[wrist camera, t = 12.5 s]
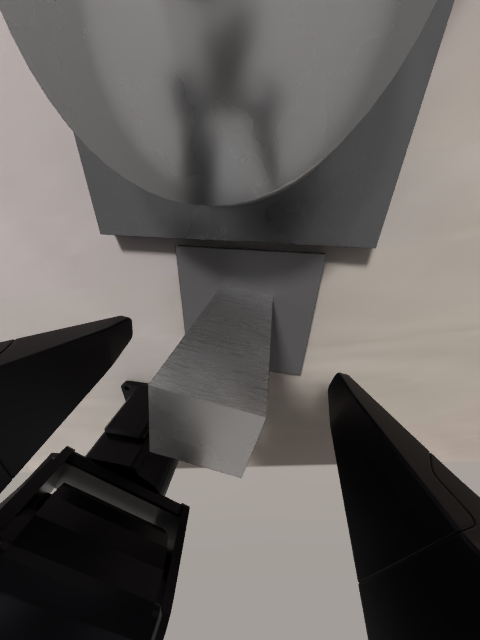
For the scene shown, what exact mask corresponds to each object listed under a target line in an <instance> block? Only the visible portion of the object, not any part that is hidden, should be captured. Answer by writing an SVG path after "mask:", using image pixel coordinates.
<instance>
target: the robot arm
mask: <svg viewBox="0 0 480 640" xmlns="http://www.w3.org/2000/svg"><path fill="white" fill-rule="evenodd" d="M132 335H133V331H132V320H131V319H130V318H129V317H125V316H117V317H113V318H108V319H104V320H99V321H95V322H90V323H86V324H81V325H77V326H72V327H68V328H63V329H59V330H54V331H50V332H45V333H41V334H36V335H32V336H27V337H23V338H18V339H16V340H9V341H4V342H0V493H1V492H2V491H3V490H4V489H5V487H6V486H7V485H8V484H9V483H10V482H11V481H12V478H14V477H15V476H16V475H17V474H18V472H19V471H20V470H21V469H22V468H23V467H24V466H25V464H26V463H27V462H28V461H29V460H30V459H31V458H32V457H33V455H34V454H35V453H36V452H37V451H38V450H39V449H40V447H41V446H42V445H43V444H44V443H45V442H46V441H47V439H48V438H49V437H50V436H51V435H52V434H53V433H54V432H55V430H56V429H57V428H58V427H59V426H60V425H61V424H62V422H63V421H64V420H65V419H66V418H67V417H68V416H69V414H70V413H71V412H72V411H73V410H74V409H75V408H76V406H77V405H78V404H79V403H80V402H81V401H82V400H83V399H84V397H85V396H86V395H87V394H88V393H89V392H90V391H91V389H92V388H93V387H94V386H95V385H96V384H97V383H98V381H99V380H100V379H101V378H102V377H103V376H104V375H105V374H106V372H107V371H108V370H109V369H110V368H111V366H112V365H113V364H114V362H115V361H116V360H117V358H118V357H119V355H120V354H121V353H122V351H123V350H124V348H125V347H126V346H127V344H128V343H129V341H130V340H131V338H132ZM148 385H149V384H148V383H141V382H134V381H125V382H124V383H123V384H122V386H121V388H122V391H123V394H124V397H125V400H126V402H125V403H124V405H123V406H122V407H121V408H120V410H119V411H118V412H117V413H116V415H115V416H114V417H113V419H112V420H111V421H110V422H109V424H108V425H107V426H106V427H105V432H104V433H103V434H102V436H101V437H100V438H99V439H98V441H97V442H96V443H95V445H94V446H93V447H92V448H91V450H90V451H89V452H88V454H87V455H86V456H85V457H84V456H82V455H80V454H78V453H76V452H75V449H73V448H71V447H69V446H66V447H65V448H64V449H63V450H62V451H61V452H60V453H51V454H50V455H49V456H48V457H47V459H46V460H45V461H44V462H43V463H42V464H41V465H40V466H39V467H38V468H37V469H36V470H35V471H34V472H33V474H32V475H31V476H30V477H29V478H28V479H27V480H26V481H25V482H24V483H23V484H22V485H21V486H20V487H18V488H17V489H16V490H15V491H14V492H13V493H12V494H11V495H9V497H7V498H6V499H5V500H4V501H3V502H2V503H0V640H163V638H164V635H165V632H166V629H167V625H168V621H169V617H170V614H171V609H172V604H173V599H174V593H175V588H176V582H177V577H178V571H179V565H180V559H181V554H182V548H183V543H184V537H185V531H186V525H187V520H188V514H189V509H190V508H189V506H187V505H185V504H183V503H182V504H179V503H177V502H175V501H173V500H171V499H169V498H167V497H165V494H166V492H167V489H168V487H169V484H170V481H171V479H172V476H173V474H174V471H175V469H176V466H177V464H178V461H179V460H177V459H174V458H170V457H167V456H163V455H160V454H156V453H153V452H150V442H149V395H148ZM328 401H329V416H330V427H331V434H332V439H333V445H334V450H335V456H336V461H337V467H338V473H339V478H340V484H341V489H342V495H343V500H344V506H345V511H346V517H347V523H348V528H349V534H350V539H351V545H352V551H353V556H354V562H355V567H356V573H357V579H358V582H359V591H360V596H361V601H362V607H363V613H364V618H365V624H366V630H367V635H368V640H480V497H479V496H478V495H476V494H475V493H474V492H473V491H472V490H471V489H469V487H467V486H466V485H465V484H464V483H463V482H462V481H460V480H459V478H457V477H456V476H455V475H454V474H453V473H452V472H451V471H450V470H449V469H448V468H446V467H445V466H444V465H443V464H442V463H441V462H440V461H439V460H438V459H437V458H436V457H435V456H434V455H433V454H431V453H429V451H428V450H427V449H426V448H425V447H424V446H423V445H422V444H421V443H420V442H419V441H418V440H417V439H416V438H415V437H414V436H412V435H411V434H410V433H409V432H408V431H407V430H406V429H405V428H404V427H403V426H402V425H401V424H400V423H399V422H398V421H397V420H395V419H394V418H393V417H392V416H391V415H390V414H389V413H388V412H387V411H386V410H385V409H384V408H383V407H382V406H381V405H379V404H378V403H377V402H376V401H375V400H374V399H373V398H372V397H371V396H370V395H369V394H368V393H367V392H366V391H365V390H364V389H363V388H361V387H360V386H359V385H358V384H357V383H356V382H355V381H354V380H353V379H352V378H351V377H350V376H349V375H347V374H343V373H337V374H336V375H335V376H334V378H333V380H332V382H331V383H330V385H329V388H328ZM54 488H57V490H56V491H55V492H54V493H53V494H50V493H51V491H52V490H53V489H54Z"/></svg>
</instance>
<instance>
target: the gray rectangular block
mask: <svg viewBox="0 0 480 640" xmlns="http://www.w3.org/2000/svg"><path fill="white" fill-rule="evenodd" d="M272 302H273V297H272V296H268V295H264V294H260V293H256V292H252V291H248V290H244V289H240V288H236V287H232V286H228V285H224V284H222V285H221V287H220V288H219V290H218V291H217V292H216V294H215V295H214V296H213V298H212V299H211V300H210V302H209V303H208V305H207V306H206V307H205V309H204V310H203V311H202V313H201V314H200V315H199V317H198V318H197V319H196V321H195V322H194V324H193V325H192V326H191V328H190V329H189V330H188V332H187V333H186V334H185V336H184V337H183V339H182V340H181V341H180V343H179V344H178V345H177V347H176V348H175V349H174V351H173V352H172V354H171V355H170V356H169V358H168V359H167V360H166V362H165V363H164V364H163V366H162V367H161V369H160V370H159V371H158V373H157V374H156V375H155V377H154V378H153V379H152V381H151V382H150V383H149V385H148V395H149V442H150V452H153V453H156V454H160V455H163V456H167V457H170V458H174V459H177V460H181V461H184V462H187V463H191V464H194V465H198V466H201V467H205V468H208V469H212V470H215V471H219V472H222V473H226V474H229V475H233V476H236V477H239V478H241V477H242V475H243V473H244V470H245V468H246V466H247V463H248V461H249V458H250V456H251V454H252V451H253V449H254V446H255V444H256V441H257V439H258V437H259V434H260V432H261V429H262V427H263V424H264V422H265V420H266V414H267V396H268V377H269V358H270V339H271V321H272Z"/></svg>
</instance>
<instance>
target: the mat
mask: <svg viewBox="0 0 480 640" xmlns="http://www.w3.org/2000/svg"><path fill="white" fill-rule="evenodd" d="M175 247H176V256H177V265H178V274H179V282H180V291H181V300H182V309H183V318H184V327H185V334H186V333H187V332H188V330H189V329H190V328H191V326H192V325H193V324H194V322H195V321H196V319H197V318H198V317H199V315H200V314H201V313H202V311H203V310H204V309H205V307H206V306H207V305H208V303H209V302H210V300H211V299H212V298H213V296H214V295H215V294H216V292H217V291H218V290H219V288H220V287H221V285H222V284H224V285H228V286H232V287H236V288H240V289H244V290H248V291H252V292H256V293H260V294H264V295H268V296H272V297H273V302H272V321H271V339H270V358H269V371H272V372H279V373H287V374H295V375H300V374H301V369H302V365H303V360H304V355H305V351H306V346H307V341H308V337H309V332H310V327H311V323H312V318H313V313H314V309H315V304H316V299H317V294H318V290H319V285H320V280H321V276H322V271H323V266H324V262H325V257H326V254H325V253H315V252H297V251H278V250H260V249H242V248H224V247H206V246H187V245H178V246H175Z"/></svg>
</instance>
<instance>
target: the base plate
mask: <svg viewBox="0 0 480 640" xmlns="http://www.w3.org/2000/svg"><path fill="white" fill-rule="evenodd" d="M453 3H454V0H437V1H436V3H435V5H434V7H433V9H432V11H431V13H430V15H429V17H428V19H427V21H426V23H425V25H424V27H423V29H422V31H421V33H420V35H419V37H418V38H417V40H416V42H415V43H414V45H413V46H412V48H411V50H410V51H409V53H408V55H407V56H406V58H405V60H404V61H403V63H402V65H401V66H400V68H399V70H398V71H397V73H396V75H395V76H394V78H393V79H392V80H391V82H390V83H389V84H388V86H387V87H386V88H385V90H384V91H383V93H382V94H381V95H380V97H379V98H378V99H377V101H376V102H375V104H374V105H373V106H372V108H371V109H370V110H369V112H368V113H367V114H366V115H365V116H364V117H363V118H362V120H361V121H360V122H359V123H358V124H357V125H356V126H355V127H354V129H353V130H352V131H351V132H350V133H349V134H348V135H347V137H346V138H345V139H344V140H343V141H342V142H341V143H340V144H339V145H338V146H337V147H336V148H335V149H334V150H333V151H332V152H331V153H330V155H329V156H328V157H327V158H326V159H325V160H324V161H323V162H322V163H321V164H320V165H318V166H317V167H316V168H315V169H314V170H313V171H312V172H311V173H310V174H309V175H308V176H306V177H305V178H303V179H302V180H301V181H299V182H298V183H296V184H295V185H294V186H292V187H291V188H289V189H287V190H285V191H283V192H282V193H280V194H278V195H276V196H274V197H271V198H269V199H266V200H263V201H261V202H257V203H253V204H248V205H244V206H231V207H223V206H206V205H194V204H186V203H181V202H177V201H173V200H169V199H166V198H163V197H161V196H158V195H156V194H153V193H151V192H148V191H146V190H144V189H142V188H141V187H139V186H137V185H135V184H133V183H132V182H130V181H128V180H127V179H125V178H124V177H122V176H121V175H120V174H118V173H117V172H116V171H114V170H113V169H111V168H110V167H109V166H107V165H106V164H105V163H104V162H103V161H102V160H101V159H100V158H99V157H98V156H96V155H95V154H94V153H93V152H92V151H91V150H90V149H89V148H88V147H87V146H86V145H85V144H84V143H83V142H82V141H81V139H80V138H79V137H78V136H77V135H76V134H75V133H74V136H75V140H76V143H77V147H78V151H79V155H80V158H81V162H82V166H83V170H84V173H85V177H86V181H87V185H88V188H89V192H90V196H91V200H92V204H93V207H94V211H95V215H96V219H97V222H98V226H99V230H100V234H105V235H124V236H144V237H164V238H184V239H203V240H223V241H243V242H263V243H282V244H302V245H322V246H342V247H362V248H376V246H377V242H378V239H379V236H380V233H381V230H382V227H383V224H384V220H385V217H386V214H387V211H388V208H389V205H390V201H391V198H392V195H393V192H394V189H395V186H396V183H397V179H398V176H399V173H400V170H401V167H402V164H403V160H404V157H405V154H406V151H407V148H408V145H409V142H410V138H411V135H412V132H413V129H414V126H415V123H416V119H417V116H418V113H419V110H420V107H421V104H422V101H423V97H424V94H425V91H426V88H427V85H428V82H429V79H430V75H431V72H432V69H433V66H434V63H435V60H436V56H437V53H438V50H439V47H440V44H441V41H442V38H443V34H444V31H445V28H446V25H447V22H448V19H449V15H450V12H451V9H452V6H453Z"/></svg>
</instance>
